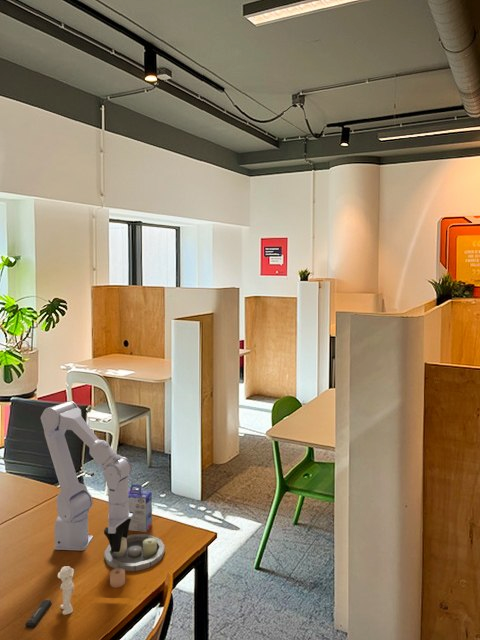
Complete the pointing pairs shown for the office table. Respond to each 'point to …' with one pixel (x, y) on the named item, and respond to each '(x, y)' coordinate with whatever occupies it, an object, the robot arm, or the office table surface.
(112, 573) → the bead terracotta
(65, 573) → the hat wearing toy figure
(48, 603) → the usb stick
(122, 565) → the tray
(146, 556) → the bead olive
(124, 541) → the bead cream
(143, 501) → the ink cartridge box
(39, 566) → the office table surface
